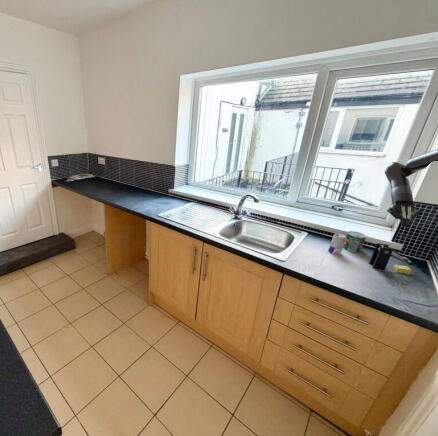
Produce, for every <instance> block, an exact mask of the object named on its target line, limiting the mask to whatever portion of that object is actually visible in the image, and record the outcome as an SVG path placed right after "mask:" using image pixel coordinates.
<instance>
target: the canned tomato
mask: <svg viewBox="0 0 438 436" xmlns="http://www.w3.org/2000/svg"><path fill="white" fill-rule="evenodd" d="M345 236H346V240H345V243H344V246H343V248H342V249H344V250H345V251H348V252H352V253H360V252H361V251H362V248H363V245H364V243H365V240H366V238H367V235H366V234H364V233H362V232H358V231H353V230H351V231H347V233H346V235H345Z"/></svg>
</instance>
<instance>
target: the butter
mask: <svg viewBox="0 0 438 436" xmlns="http://www.w3.org/2000/svg"><path fill="white" fill-rule="evenodd" d="M392 269H393V270H394V271H395V272H396V273H401V274H406V275H411V273H412V271H413V270H412V269H411V268H410V267H409V266H407V265H400V264H393V267H392Z"/></svg>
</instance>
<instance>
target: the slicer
mask: <svg viewBox="0 0 438 436" xmlns="http://www.w3.org/2000/svg"><path fill="white" fill-rule="evenodd" d="M381 245H382V246H384V247H380V246H381ZM374 246H375V247H374V249H373V251H372V253H371V257H370V259H369V262H368V265H370V266H371V265H372V269H373V270H375V271H376V272H379V271H380V272H381V273H387V274H388V273H389V274H394V272H393V271H386V268H387V266H388V263H389V261H390V258H391V256H392V255H391V254H392V252H393V251H394V248H393V247H389V246H390V245H389V244H387V243H380V242H376V243H375V245H374ZM379 247H380V249H379V250H378V248H379Z"/></svg>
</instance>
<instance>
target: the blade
mask: <svg viewBox="0 0 438 436" xmlns="http://www.w3.org/2000/svg"><path fill="white" fill-rule="evenodd" d="M380 247H384V246H382V245H381V246H380ZM380 247H379V248H378V250H379V249H380ZM391 256H393V257H395V258H397V259H400V260H402V261H403V262H405V263H406V264H407V265H409V266H413V265H415V263H414V262H413V261H412V260H411V259H410V258H408V257H406V256H401V255H399V254H397V253H394V252H393V251H392V254H391Z"/></svg>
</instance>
